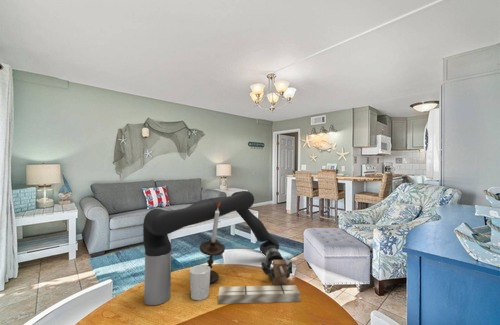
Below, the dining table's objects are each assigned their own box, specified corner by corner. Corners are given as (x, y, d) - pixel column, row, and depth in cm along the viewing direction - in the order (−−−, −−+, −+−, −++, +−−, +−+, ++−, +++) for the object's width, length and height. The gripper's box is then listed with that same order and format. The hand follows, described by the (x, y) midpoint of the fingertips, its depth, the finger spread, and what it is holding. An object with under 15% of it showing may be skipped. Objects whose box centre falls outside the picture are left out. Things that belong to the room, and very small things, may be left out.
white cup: (206, 288, 92) (206, 263, 92) (213, 297, 85) (213, 270, 85) (186, 293, 88) (187, 267, 88) (192, 303, 81) (193, 275, 81)
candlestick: (222, 273, 104) (233, 200, 100) (216, 288, 93) (228, 207, 89) (200, 268, 105) (210, 196, 101) (192, 282, 94) (202, 202, 90)
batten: (218, 303, 81) (218, 295, 81) (219, 294, 87) (219, 286, 87) (300, 301, 82) (300, 293, 83) (296, 292, 88) (295, 284, 88)
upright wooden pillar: (276, 299, 83) (276, 269, 84) (272, 286, 92) (272, 259, 93) (289, 298, 84) (289, 269, 84) (284, 286, 93) (284, 259, 93)
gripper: (259, 251, 105) (262, 266, 88) (289, 250, 106) (298, 265, 89) (258, 267, 105) (262, 286, 88) (289, 266, 105) (299, 285, 88)
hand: (281, 275), depth 88 cm, fingers closed on upright wooden pillar, 5 cm apart
